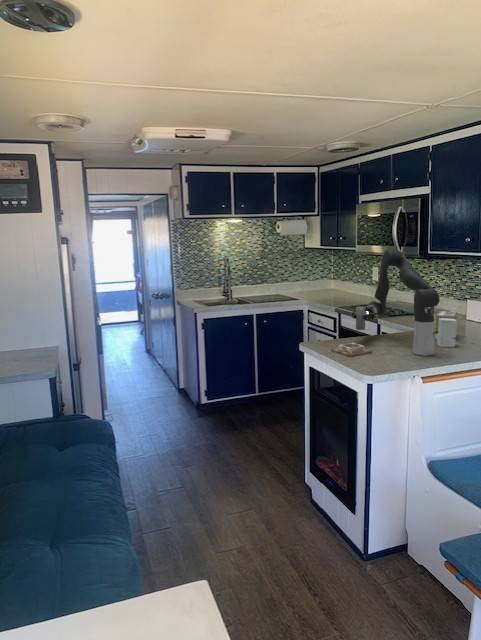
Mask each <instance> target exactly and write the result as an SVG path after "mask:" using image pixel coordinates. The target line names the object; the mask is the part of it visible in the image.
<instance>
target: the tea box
mask: <svg viewBox="0 0 481 640" xmlns="http://www.w3.org/2000/svg"><path fill="white" fill-rule="evenodd" d="M439 318H446V319H455V320H457V321H458V311H450V310H449V311H448V310H447V311H446V310H445V311H443V310H439V312H438V313H437V314H436V316H435V340H436V341H437V337H438V325H439ZM457 329H458V328H457ZM457 329H456V336H457V333H458V331H457Z"/></svg>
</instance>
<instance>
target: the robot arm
mask: <svg viewBox="0 0 481 640" xmlns="http://www.w3.org/2000/svg"><path fill="white" fill-rule="evenodd" d="M389 267H394V268H397V269H399V273H398V277H399V279H400V282H402V284H403V285H404V286H405V287H407V288H408V289H410V290H413V291H415V292H414V295H413V317H414V320H413V321H414V322H413V323H414V324H413V325H414V327H413V342H412V343H413V347H412V353H413V354H414V355H417V356H422V357H423V356H424V357H428V356H432V355H433V356H434V354H435V340H436V339H435V336H434V330H435V329H434V328H435V315H434V316H433V315H431V314H428V313H426V312H425V308H426V307H434V308H435V307H437V306H438V305H439V304H440V301H441V299H440V295H439V293H438V291H437V289H435V288H434V287H433V286H431V285H430V283H428V282H427V281H426V280H425V279H424V278H423V277H422V276H421V274H420V273H419V272H418V271H417V270H416V269H415V267H414V266H412V264H411V263H410V261H409V260H408V259H407V257H406V255H405V254H404V253H403V252H402V251H400V250H395V249H386V250H384V252H383V254H382V258H381V264H380V268H379V278H378V283H377V285H376V288H375V289H376V290H375V293H374V298H375V299H376V300H378V301H379V302H377V301H373V300H372V301H370V302H369V304H368V305H366V306H365V307H366V309H365V315H364V318H363V319H365V321H369V320H371V319H375V318H377V316H380V317H382V316H384V315H385V314H386V312H387V300H388V299H387V298H388V295H389V291H390V280H389V277H388V276H389V275H388V269H389ZM351 318H353V319H355V320H356V311H354V310H353V311H352V312H351Z"/></svg>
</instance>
